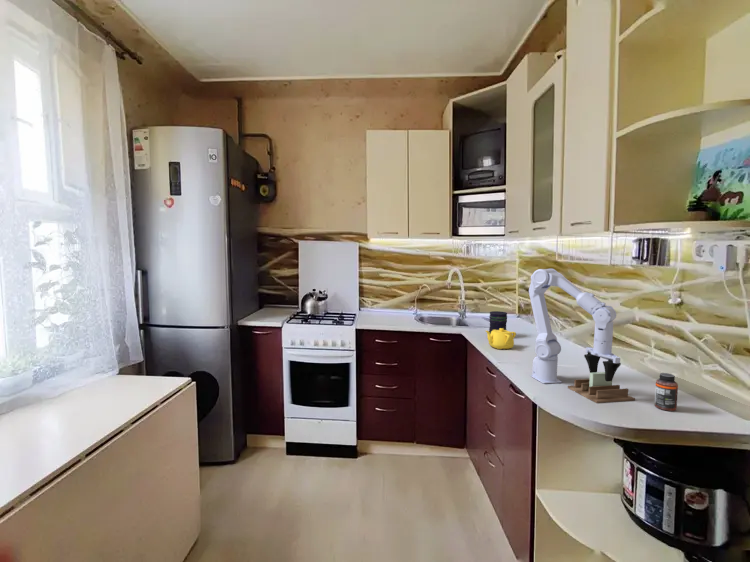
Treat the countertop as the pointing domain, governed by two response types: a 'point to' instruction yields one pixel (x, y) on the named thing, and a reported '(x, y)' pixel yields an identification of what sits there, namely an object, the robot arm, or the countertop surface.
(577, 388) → the dish rack
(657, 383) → the supplement bottle
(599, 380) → the pale green flat block
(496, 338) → the teapot
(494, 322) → the storage jar
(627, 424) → the countertop surface
